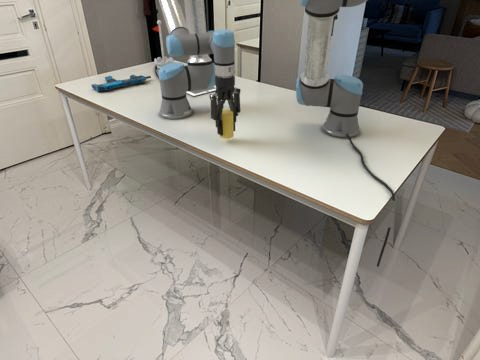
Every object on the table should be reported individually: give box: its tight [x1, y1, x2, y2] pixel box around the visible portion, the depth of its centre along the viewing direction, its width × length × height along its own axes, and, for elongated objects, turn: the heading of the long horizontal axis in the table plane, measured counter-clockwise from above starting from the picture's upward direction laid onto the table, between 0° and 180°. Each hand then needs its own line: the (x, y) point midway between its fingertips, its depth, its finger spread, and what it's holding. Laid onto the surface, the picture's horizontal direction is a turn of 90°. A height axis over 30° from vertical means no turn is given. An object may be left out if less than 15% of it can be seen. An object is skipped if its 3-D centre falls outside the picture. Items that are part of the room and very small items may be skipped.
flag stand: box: [152, 19, 175, 69], centre depth 231 cm, size 13×13×30 cm
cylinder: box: [219, 109, 235, 140], centre depth 137 cm, size 6×6×10 cm
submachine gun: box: [90, 74, 152, 92], centre depth 206 cm, size 34×4×25 cm
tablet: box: [186, 86, 216, 97], centre depth 203 cm, size 32×20×1 cm, turn 41°
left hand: (226, 132), depth 139 cm, fingers closed on cylinder, 6 cm apart
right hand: (323, 33), depth 161 cm, fingers open, 13 cm apart
